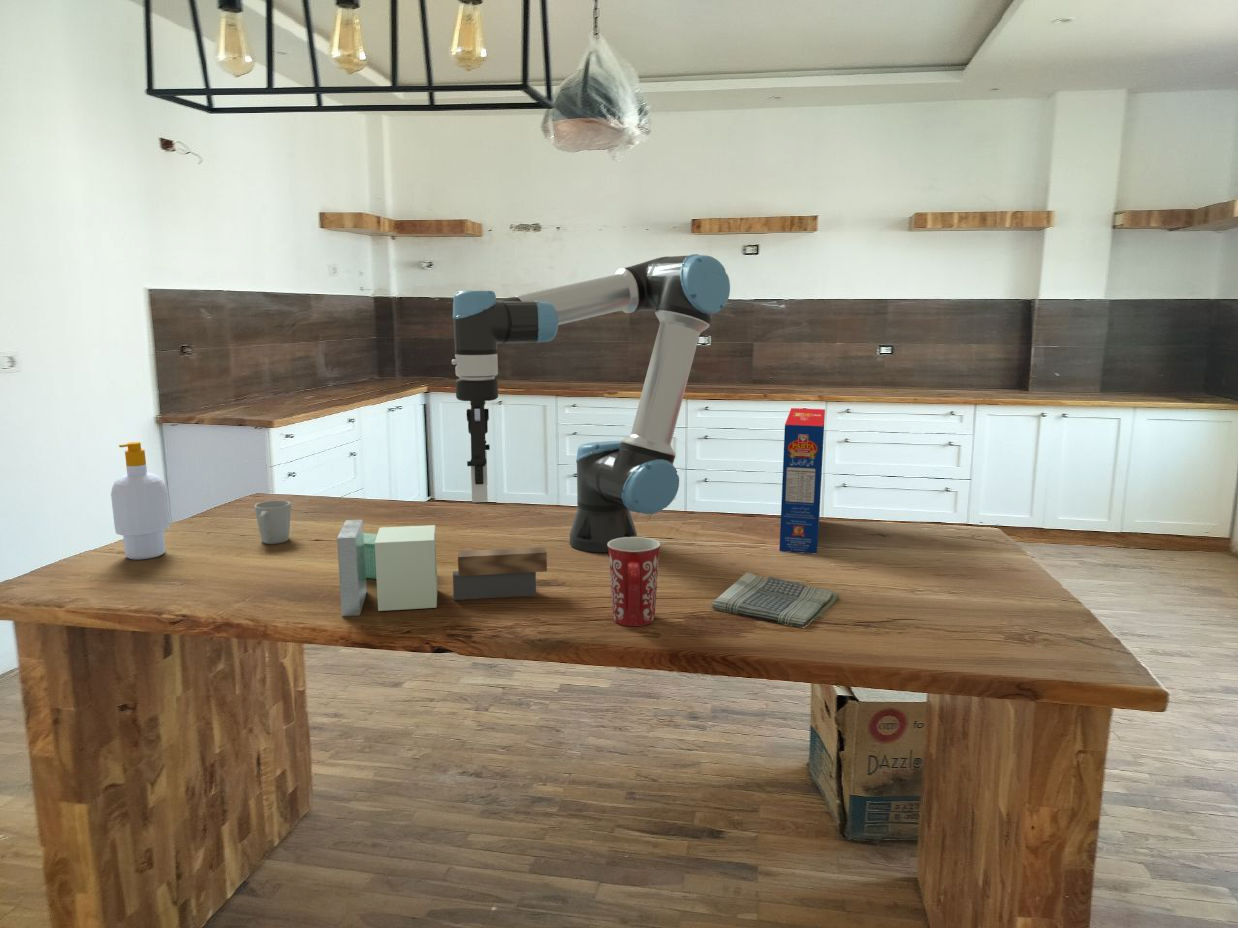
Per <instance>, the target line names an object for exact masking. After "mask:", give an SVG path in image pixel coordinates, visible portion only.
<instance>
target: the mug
mask: <svg viewBox="0 0 1238 928" xmlns="http://www.w3.org/2000/svg"><path fill="white" fill-rule="evenodd" d="M607 546H608V549H609V552H608V560H609V562H608V563H609V565H608V566H609V574H610V575H609V576H610V577H609V579H610V593H611V612H612V620H613V621H614V622H615V623H617V624H619V625H622V626H627V627H642V626H646V625H649V624H651V623H653V622H654V621H655V619H656V618H655V617H656V603H657V588H658V586H657V585H658V574H659V573H658V572H659V560H660V559H659V557H660V549H661V546H662V545H661V543H660V541H658V540H656V539H652V538H649V537H639V536H637V537H623V538H617V539H613V540H611V541H609V542H608V543H607Z"/></svg>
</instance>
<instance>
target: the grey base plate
mask: <svg viewBox="0 0 1238 928" xmlns="http://www.w3.org/2000/svg"><path fill="white" fill-rule="evenodd" d="M363 522H364V520H363V519H345V521H344V523H343V525H342V527H341V529H340V532H339V533H338V535H337V538H336V541H337V542H336V544H337V561H338V574H339V575H338V576H339V578H338V579H339V590H340V592H339V593H340V610H341V617H355V616H356V617H357V616H361V612H362V609H363V606H364V602H365V599H366V596H367V592H368V591H367V578H366V571H365V553H364V535H363V533H364V523H363Z"/></svg>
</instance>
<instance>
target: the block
mask: <svg viewBox="0 0 1238 928" xmlns="http://www.w3.org/2000/svg"><path fill="white" fill-rule="evenodd" d="M376 534H377V537H376V540H375V560H376V579H375V580H376V593H377V594H376V596H377V611H378V612H383V611H386V612H387V611H401V610H417V609H433V608H434V609H435V608H437V607H438V605H437V604H438V590H439V589H438V567H437V565H438V563H437V540H436V539H437V538H436V537H437V535H436V524H432V525H430V524H429V525H428V524H427V525H408V526H407V525H406V526H388V527H387V526H383V527H378V531H377V533H376Z"/></svg>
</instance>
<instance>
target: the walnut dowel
mask: <svg viewBox="0 0 1238 928" xmlns="http://www.w3.org/2000/svg"><path fill="white" fill-rule="evenodd" d="M547 558H548V554H547V550H546V547H545V546H538V547H537V546H536V547H518V548H517V547H516V548H499V549H497V548H496V549H494V548H493V549H479V550H475V549H474V550H461V551H460V550H459V551H457V567H458V568H457V569H458V570H457V571H458V574H459V576H472V575H490V574H508V573H527V572H536V573H540V572H542V573H543V572H544V573H545V572H548V559H547Z"/></svg>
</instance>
